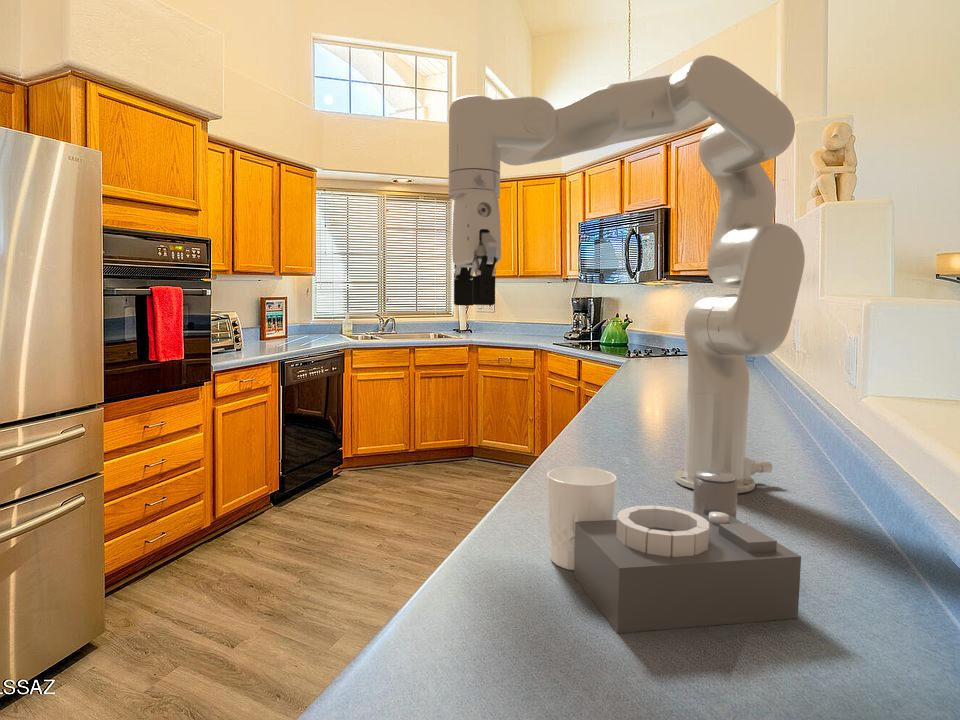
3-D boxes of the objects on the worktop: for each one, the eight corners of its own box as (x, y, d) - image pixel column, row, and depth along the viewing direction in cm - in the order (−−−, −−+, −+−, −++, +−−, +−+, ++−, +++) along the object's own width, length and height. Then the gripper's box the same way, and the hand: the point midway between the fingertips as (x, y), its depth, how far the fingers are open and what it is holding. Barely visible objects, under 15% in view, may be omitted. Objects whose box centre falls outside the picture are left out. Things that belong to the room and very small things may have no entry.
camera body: (725, 565, 69) (728, 496, 69) (797, 618, 57) (802, 535, 57) (573, 575, 66) (575, 503, 66) (617, 633, 54) (620, 546, 54)
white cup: (599, 580, 65) (601, 489, 64) (533, 564, 69) (535, 477, 68) (623, 556, 72) (626, 472, 71) (562, 542, 76) (564, 463, 75)
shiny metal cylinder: (720, 536, 78) (723, 467, 78) (743, 551, 73) (746, 478, 73) (684, 538, 78) (686, 469, 77) (705, 554, 73) (708, 480, 72)
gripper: (520, 177, 82) (518, 305, 83) (480, 199, 98) (479, 305, 100) (466, 173, 80) (465, 304, 81) (435, 196, 96) (435, 305, 97)
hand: (473, 305), depth 90 cm, fingers open, 9 cm apart
